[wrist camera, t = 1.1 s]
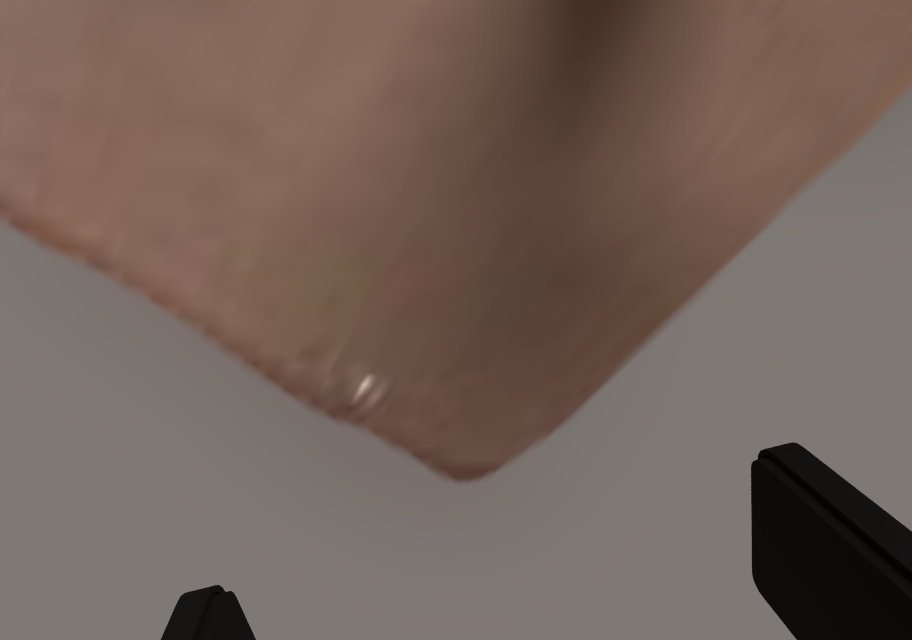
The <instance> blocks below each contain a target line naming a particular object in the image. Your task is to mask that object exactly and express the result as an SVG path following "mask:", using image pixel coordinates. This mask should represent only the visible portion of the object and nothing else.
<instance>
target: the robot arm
mask: <svg viewBox="0 0 912 640" xmlns="http://www.w3.org/2000/svg"><path fill="white" fill-rule="evenodd" d="M751 495H752V496H751V504H752V575H753V579H754V582H755V584H756V587H757V588H758V590H759V592H760V593H761V595H762V596H763V598H764V599H765V600H766V601H767V603H768V604H769V605H770V606H771V607H772V609H773V610H774V611H775V613H776V614H777V615H778V616H779V618H780V619H781V620H782V621H783V623H784V624H785V625H786V627H787V628H788V629H789V630H790V632H791V633H792V634H793V635H794V637H795V638H796V639H797V640H912V531H910V530H909V529H908V528H906V527H905V526H904V525H902V524H901V523H900V522H899V521H897V520H896V519H895V518H894V517H892V516H891V515H890V514H888V513H887V512H886V511H884V510H883V509H882V508H881V507H879V506H878V505H877V504H876V503H874V502H873V501H872V500H870V499H869V498H868V497H867V496H865V495H864V494H863V493H861V492H860V491H859V490H858V489H856V488H855V487H854V486H852V485H851V484H850V483H848V482H847V481H846V480H845V479H843V478H842V477H841V476H840V475H838V474H837V473H836V472H834V471H833V470H832V469H831V468H829V467H828V466H827V465H825V464H824V463H823V462H822V461H820V460H819V459H818V458H816V457H815V456H814V455H813V454H811V453H810V452H809V451H807V450H806V449H805V448H804V447H802V446H801V445H799V444H797V443H788V444H784V445H780V446H776V447H772V448H768V449H764V450H761V451H760V453H759V455H758V460H755V461H753V463H752V465H751ZM161 640H256V639H255V637H254V634H253V632H252V630H251V628H250V626H249V624H248V622H247V619H246V617H245V615H244V613H243V611H242V608H241V606H240V604H239V602H238V600H237V598H236V596H235V594H234V593H233V592H232V591H228V592H225V591H224V589H223V588H222V587H221V586H220V585H215V586H211V587H207V588H203V589H199V590H195V591H191V592H187V593H184V594H183V595H182V596H181V597H180V599H179V600H178V602H177V604H176V606H175V609H174V611H173V613H172V615H171V618H170V620H169V622H168V625H167V627H166V629H165V631H164V634H163V636H162V638H161Z"/></svg>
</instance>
